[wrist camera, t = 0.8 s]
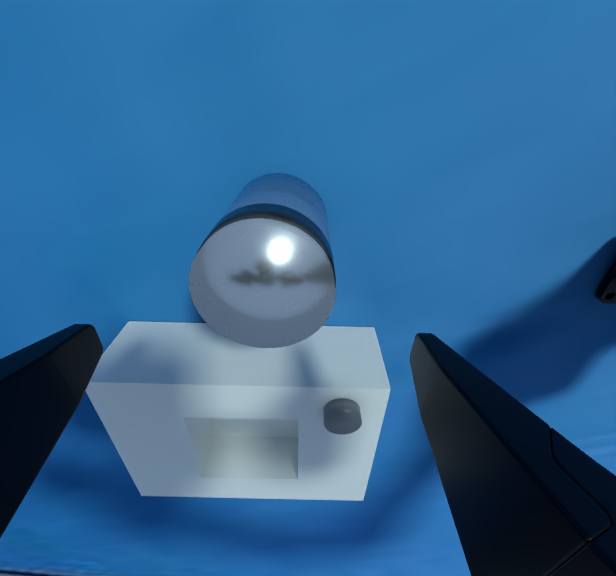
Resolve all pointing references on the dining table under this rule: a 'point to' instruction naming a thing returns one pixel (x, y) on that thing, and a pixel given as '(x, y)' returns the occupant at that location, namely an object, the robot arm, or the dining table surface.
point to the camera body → (242, 411)
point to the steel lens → (267, 265)
